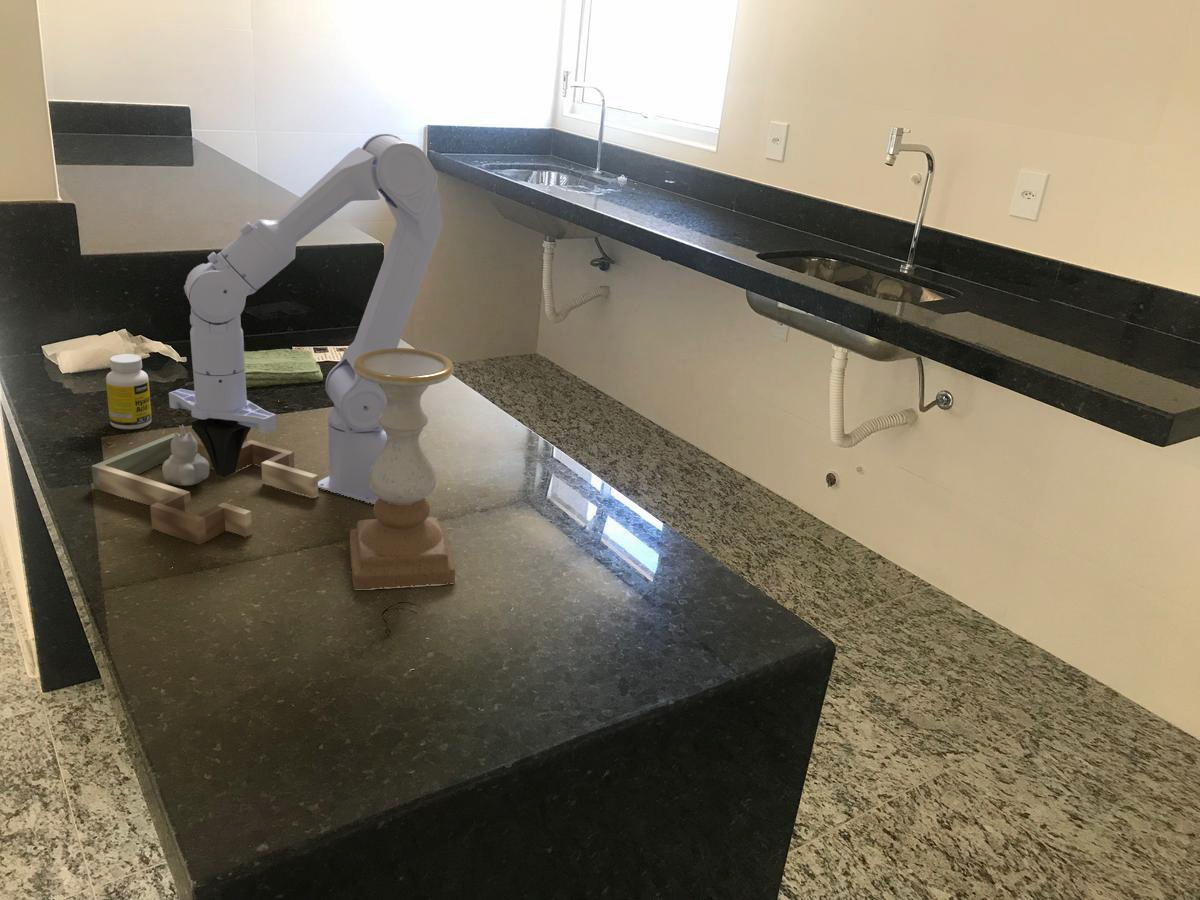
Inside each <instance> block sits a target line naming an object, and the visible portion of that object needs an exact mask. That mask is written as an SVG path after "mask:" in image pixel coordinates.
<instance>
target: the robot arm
mask: <svg viewBox="0 0 1200 900" xmlns="http://www.w3.org/2000/svg"><path fill="white" fill-rule="evenodd" d="M438 179H439V175H438V173H437V172H436V170H435V168H434V166H433V164H432V162H431V161H430V158H429V157H428V156H427V155H426V153H425V152H424V151H423V150H422V149H421V148H420V147H418V146H417V145H416V144H413V143H410V142H409V143H408V142H405V141H404V140H403V139H401V138H400V137H398V136H396V135H394V134H393V133H392V134H391V133H379V134H375V135H373V136H371V137H369V138H368V139H367V140H366V141H365V142H364V144H363V145H362V147H360V146H358V147H356V148H355V149H353V150H351V151H349V152H348V153H347V154H346V155H345V156H344V157H343V158H341V160H340V161H339V162H338V163H337V164H336V165H334V167H333V168H331V169H330V170H329V171H328V172H327V173H326V174H324V176H322V178H320V179H319V180H318V181H317V182H316V183H315V184H314V185H312V186H311V188H310V189H309V190H307V191H306V192H305V193H303V195H301V197H299V199H297V200H296V201H295V202H294V203H292V205H291V206H290V207H289V208H288V209H286V210H285V211H284V212H283V213H282V214H281V215H280V216H279V217H278V218H277V219H262V218H261V219H257V220H256V221H255V222H254V223H253V224H251V223H250V222H249V221H246V222H245V223H243V224H242V225H241V226H240V227H239V230H240V233H241V234H240V235H238V236H237V237H236V238H235V239H234V240H232V241H231V242H230V243H228V244H227V245H226V246H225V247H224V248H223V249H222V250H221V251H220V252H218V253H216V252H214V251H212V252H211V253H210V254H208V255H207V260H208V262H207V263H200V264H199V265H196V266H195V267H193V269H192V270H191V271H190V272H189V273H188V274H187V277H186V280H185V284H184V285H183V290H184V293H185V295H186V298H187V300H188V302H189V304H190V307H191V308H190V315H189V324H190V325H191V328H190V331H189V335H190V337H189V338H190V351H191V363H192V373H193V374H192V376H193V387H194V388H193V389H194V390H189V389H184V388H179V389H176V390H173V391H170V392H168V402H169V408H171V409H174V410H179V409H184V410H188V411H190V412H191V414H190V415H191V417H192V418H196V420H195V421H193V422H192V423H191V430H193V432H194V433H195V434H196V435H197V437H198V438H199V439H200V440H199V441H202V443H203V445H204V446H205V448H206V450H207V453H208V455H209V457H210V460H211V463H212V465H213V468H214V469H213V471H214V473H215V475H216V476H218V477H221V478H227V477H229V476H232V475H234V474H236V473H237V472H236V468H237V463H238V459H239V455H240V451H241V448H242V445H243V443H244V440H245V438H246V436H247V437H248V435H249V433H250V430H251V429H256V430H258V433H259V434H263V435H267V434H269V433H271V432H273V431H275V430H277V414H276V413H272V412H270V411H267V410H265V409H263V408H262V407H260V406H258V405H257V404H255V403H253V402H252V401H250V400H248V396H247V395H248V394H247V387H246V376H245V359H244V352H245V342H244V330H243V328H242V324H241V314H242V313H243V311H244V309H245V306H246V302H247V301H246V299H247V296H249V295H250V296H251V295H253V294H255V293H256V292H257V291H258V290H260V288H262V287H263V286H264V285H266V284H267V283H268V282H269V281H270V280H271V279H273V278H274V277H275V276H277V275H278V274H279V272H281V271H282V270H284V269H285V268H286V267H287V266H288V265H289V264H290V263H292V261H294V260H295V259H296V250H297V249H296V248H297V243H298V242H299V241H301V240H302V239H303V238H305V237H306V236H307V235H309V234H310V233H311V232H313V231H314V230H315V229H317V228H318V227H319V226H320V225H322V224H323V223H325V221H327V220H328V219H329V218H330V217H332V216H333V215H335V214H336V213H337V212H338V211H340V210H342V209H343V208H344V207H346V205H348V204H349V203H351V202H355V201H356V202H358V201H377V200H381V196H382V197H383V198H384V200H385V203H386V204H387V206H388V209H389V210H390V212H391V214H392V216H393V218H394V220H395V223H396V225H395V227H394V231H393V234H392V236H391V238H390V241H389V245H388V247H387V250H386V253H385V255H384V258H383V261H382V263H381V266H380V270H379V272H378V274H377V277H376V279H375V282H374V286H373V287H372V291H371V294H370V296H369V299H368V302H367V304H366V307H365V309H364V312H363V315H362V318H361V321H360V324H359V327H358V329H357V332H356V335H355V337H354V340H353V341H352V343H350V344H349V345H348V346H347V347H346V348H345V349H344V351H343V355H342V356H341V359H340V360H339V362H338V363H337V364H336V365H335V366H334V367H332V368H331V370H330V371H329V372H328V374H327V377H326V379H325V387H324V388H325V391H326V395H327V396H328V398H329V399H330V400H331V401H332V403H333V408H332V410H331V412H330V413H329V415H328V419H327V423H328V427H327V428H328V475H327V477H324V478H323V479H321V480H318V487H319V488H322V489H325V490H328V491H331V492H330V493H332V492H334V493H333V494H335V493H339V494H341V495H340V496H342V495H344V496H343V497H345V496H347V497H346V498H349V497H352V498H354V499H353V500H356V499H357V500H356V501H359V500H361V501H360V502H362V501H365V502H364V503H366V502H367V503H366V504H369V503H371V504H370V505H373V504H375V502H376V501H377V500H378V499H379V498H378V497H377V496H376V495H375V494H374V493H373V492H372V491H371V489H370V487H369V484H368V475H369V471H370V469H371V466H372V465H373V463H374V461H375V460H376V459H377V457H378V456H379V454H380V453H381V452H382V450H383V448H384V447H385V445H386V442H387V435H386V433H385V431H384V430H383V426H381V425H380V424H379V422H378V417H379V415H380V414H381V413H382V412H383V411H384V409H385V407H386V403H387V399H386V395H385V393H384V391H383V390H382V389H381V388H380V386H379V384H377V383H373V382H370V381H367V380H365V379H363V378H361V377H360V376H358V375H357V373H356V372H355V370H354V361H355V359H356V358H357V357H358V356H360V355H361V354H363V353H366V352H369V351H373V350H379V349H387V348H399V344H400V341H401V339H402V336H403V334H404V330H405V328H406V325H407V323H408V320H409V318H410V315H411V312H412V309H413V306H414V304H415V301H416V298H417V296H418V294H419V291H420V287H422V286H421V285H422V283H423V280H424V277H425V274H426V273H427V269H428V267H429V264H430V261H431V259H432V256H433V254H434V251H435V249H436V245H437V243H438V240H439V238H440V235H441V232H442V230H443V224H444V223H443V215H442V210H441V203H440V197H439V191H438ZM379 193H380V194H381V196H380V194H379ZM235 472H236V473H235ZM233 473H234V474H233ZM231 474H232V475H231ZM322 489H321V490H322ZM325 490H324V491H325ZM328 491H327V492H328ZM339 494H338V495H339ZM352 498H351V499H352Z"/></svg>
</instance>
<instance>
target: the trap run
mask: <svg viewBox="0 0 1200 900" xmlns="http://www.w3.org/2000/svg"><path fill="white" fill-rule="evenodd" d="M175 433H176V432H175ZM175 433H174V432H173V433H171V434H167V435H166V436H163V437H160V438H158V439H156V440H153V441H150V442H148V443H145V444H143V445H140V446H138V447H136V448H133V449H130V450H127V451H125V452H123V453H120V454H118V455H115V456H112V457H110V458H107V459H106V460H102V461H101V462H98V463H95V464H92V465H91V474H92V481H93V482H92V483H93V489H96V490H98V491H102V492H104V493H107V494H111V495H115V496H117V497H120V498H123V497H124V498H123V499H126V498H127V499H126V500H129V499H130V501H132V500H134V501H133V502H135V501H137V502H136V503H138V502H141V503H145V504H147V505H151V506H149V507H150V508H149V510H150V518H151V519H150V520H151V527H152V528H154V529H156V530H155V531H157V530H159V531H158V532H160V531H161V532H160V533H162V534H166V533H167V534H166V535H168V536H172V535H173V536H172V537H175V538H177V537H178V538H177V539H180V540H184V541H186V540H187V542H189V541H190V543H193V544H196V545H198V544H199V546H201V545H202V543H203V544H204V543H206V542H208V541H210V540H212V539H213V538H216V537H218V536H219V535H221V534H223V533H224V532H223V531H225V530H226V531H225V532H227V531H230V532H233V533H236V534H239V535H243V536H248V535H250V534H251V533H252V534H253V525H252V524H253V523H252V521H253V519H252V510H248V509H245V508H242V507H239V506H236V505H232V504H230V503H226V502H221V503H220V504H218V505H216V506H214V507H212V508H211V509H210V508H209V509H208V510H206V511H204V512H203V513H201V514H199V515H198V514H194V513H192V499H191V491H188V490H185V489H182V488H179V487H175V486H172V485H169V484H166V483H163V482H159V481H157V480H153V479H150V478H146V477H144V476H140V475H139V474H141V473H143V471H144V472H145V470H146V471H148V470H150V469H152V467H153V468H155V467H157V466H159V464H160V465H161V463H162V464H163V463H164V462H165V461H166V460H167V459H169V457H170V456H171V455H173V454H172V452H171V441H172V440H173V438H174V436H175ZM196 441H197V447H198V451H197V453H199V454H200V456H202V457H204V458H206V459H207V461H208V462H209V469H210V468H213V465H212V463H211V460H210V457H209V455H208V453H207V450H206V448H205V446H204V445H203V443H202V441H201V440H198V439H196ZM294 455H295V453H294V451H291V450H288V449H284V448H281V447H278V446H274V445H271V444H267V443H263V442H260V441H257V440H254V439H250V440H248V442H245V443H243V445H242V448H241V451H240V455H239V459H238V463H237V468H236V471H238V470H239V469H242V468H243V467H246V466H247V465H250V464H257V465H260V466H261V467H260V468H261V482H263V483H267V484H270V485H273V486H276V487H279V488H284V489H287V490H289V491H293V492H297V493H300V494H304V495H308V496H311V497H314V496H315V495H317V494H318V495H319V489H318V482H319V475H318V474H316V473H312V472H308V471H305V470H301V469H298V468H295V458H294V457H295V456H294ZM156 465H157V466H156ZM154 466H155V467H154ZM149 468H150V469H149ZM147 469H148V470H147ZM140 472H141V473H140ZM138 473H139V474H138ZM136 474H137V475H136ZM141 503H140V504H141ZM147 505H146V506H147ZM191 513H192V514H191ZM152 528H151V529H152ZM154 529H153V530H154ZM222 532H223V533H222ZM230 532H229V533H230ZM220 533H221V534H220ZM233 533H232V534H233ZM236 534H235V535H236ZM239 535H238V536H239ZM215 536H216V537H215ZM250 536H251V535H250ZM248 537H249V536H248Z"/></svg>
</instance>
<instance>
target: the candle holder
mask: <svg viewBox="0 0 1200 900" xmlns="http://www.w3.org/2000/svg"><path fill="white" fill-rule="evenodd" d="M354 370H355V372H356V373H357V375H358V376H360V377H361V378H363V379H365V380H367V381H370V382H373V383H377V384H379V386H380V388H381V389H382V390H383V391H384V393H385V395H386V399H387V403H386V407H385V409H384V411H383V412H382V413H381V414H380V415H379V417H378V422H379V424H380V425H381V426H383V430H384V431H385V433H386V435H387V442H386V445H385V447H384V448H383V450H382V452H381V453H380V454H379V456H378V457H377V459H376V460H375V461H374V463H373V465H372V466H371V469H370V471H369V475H368V484H369V487H370V489H371V491H372V492H373V493H374V494H375V495H376V496H377V497H378V498H379V499H378V500H377V501H376V502H375V505H373V515H374V517H375V518H371V519H361V520H358V521H357V524H356V528H352V529H350V532H349V557H351V559H350V570H351V569H352V571H351V581H353V583H352V587H354V588H355V589H371V588H380V587H382V588H384V587H397V586H400V587H402V586H411V585H413V586H415V585H426V584H429V585H431V584H447V583H448V584H450V583H454V582H455V583H456V567H455V566H456V565H455V561H454V558H453V553H452V550H451V546H450V543H449V538H448V536H447V532H446V530H445V527H444V526H443V525H441V522H440V521H439V518H438V517H433V516H430V513H431V507H430V504H429V501H428V500H427V499H426V498H427V497H428V496H429V495H430V494H431V493H432V492H433V491H434V490H435V487H436V484H437V475H436V471H435V468H434V466H433V464H432V462H431V461H430V459H429V458H428V456H427V455H426V454H425V452H424V450H423V449H422V447H421V445H420V441H419V440H420V439H419V438H420V435H421V433H422V432H423V431H424V428H425V427H426V426H427V424H428V423H429V417H428V416H427V415H426V414H425V412H424V411H423V408H422V405H421V399H422V396H423V395H424V393H425V391H427V389H428V388H429V386H432V385H437V384H441V383H442V382H444V381H447V380H448V379H449V378H450V377H451V376H452V375H453V374H454V373H453V372H454V363H453V362H452V360H450V359H449V357H446V356H445V355H442V354H440V353H439V352H434V351H429V350H425V349H418V348H410V347H409V348H407V347H406V348H405V347H397V348H387V349H379V350H373V351H369V352H366V353H363V354H361V355H360V356H358V357H357V358H356V359H355V361H354ZM455 583H454V584H455ZM354 588H353V589H354Z"/></svg>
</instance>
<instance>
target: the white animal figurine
mask: <svg viewBox="0 0 1200 900" xmlns="http://www.w3.org/2000/svg"><path fill="white" fill-rule="evenodd" d="M196 440H197V439H196V438H195V437H194V435H193V433H192V432H191V431H188V432H187V433H186V429H185V427H184V424H181V427H180V433H178V432H175V436H174V438H173V440H172V441H171V452H172V454H173V455H171V456H170V457H169V459H167V460H166V461H165V462H164V463H162V466H161V469H162V476H163V478H164V480H165V481H166V482H167V483H171V484H173V485H175V486H179V487H187V486H194V485H197V484H199V483H201V482H202V481H203V480H207V478H208V477H209V475H210V468H209V462H208V461H207V459H206V458H204V457H202V456H200V454H199V453H197V451H198V447H197V441H196Z"/></svg>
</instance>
